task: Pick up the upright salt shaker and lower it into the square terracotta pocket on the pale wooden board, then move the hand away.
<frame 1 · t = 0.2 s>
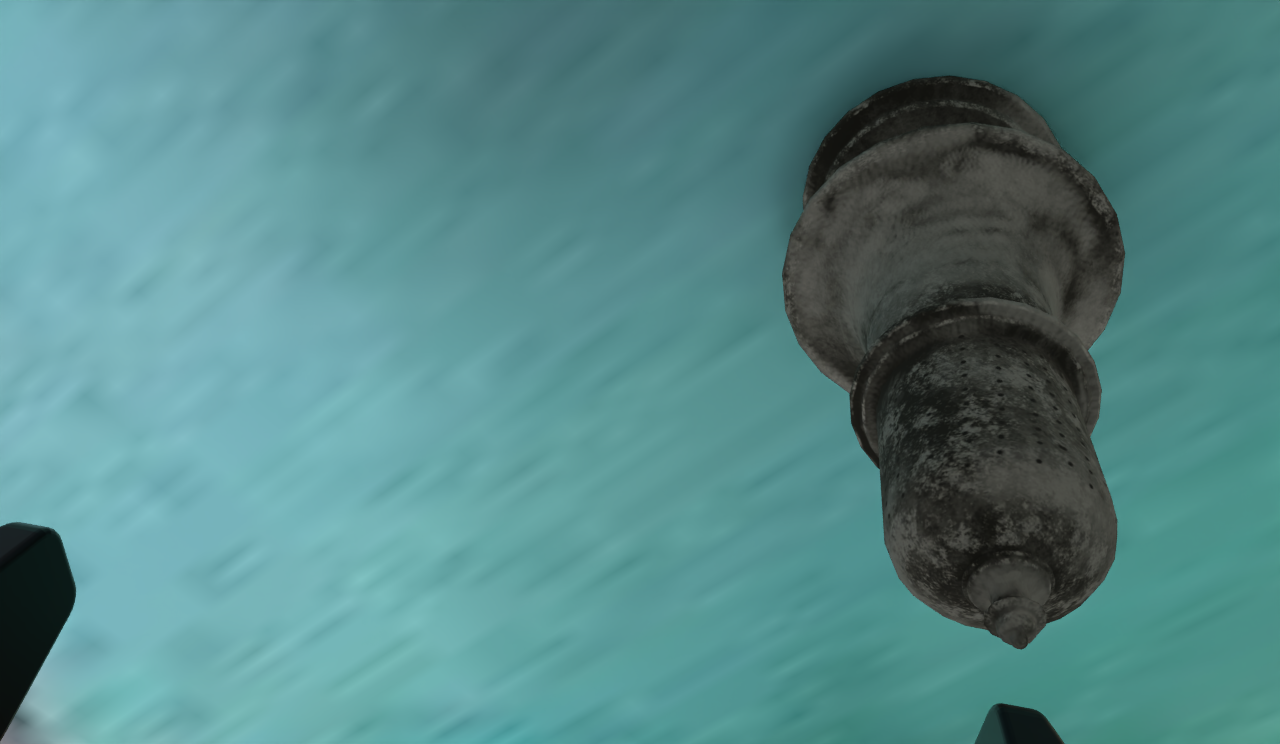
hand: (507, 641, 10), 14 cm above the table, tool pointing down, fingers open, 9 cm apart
salt shaker: (930, 198, 21), on the table
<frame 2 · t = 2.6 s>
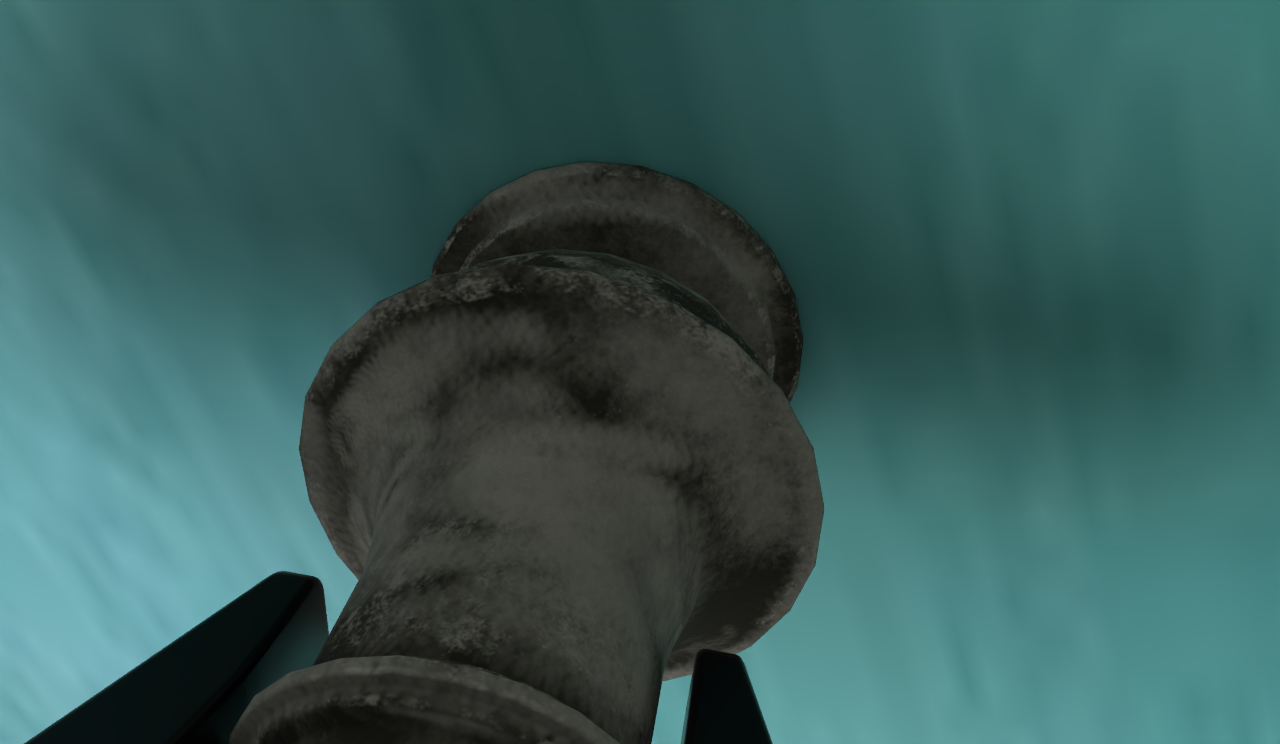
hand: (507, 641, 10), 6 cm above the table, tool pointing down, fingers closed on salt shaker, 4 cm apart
salt shaker: (613, 334, 14), on the table, touching gripper
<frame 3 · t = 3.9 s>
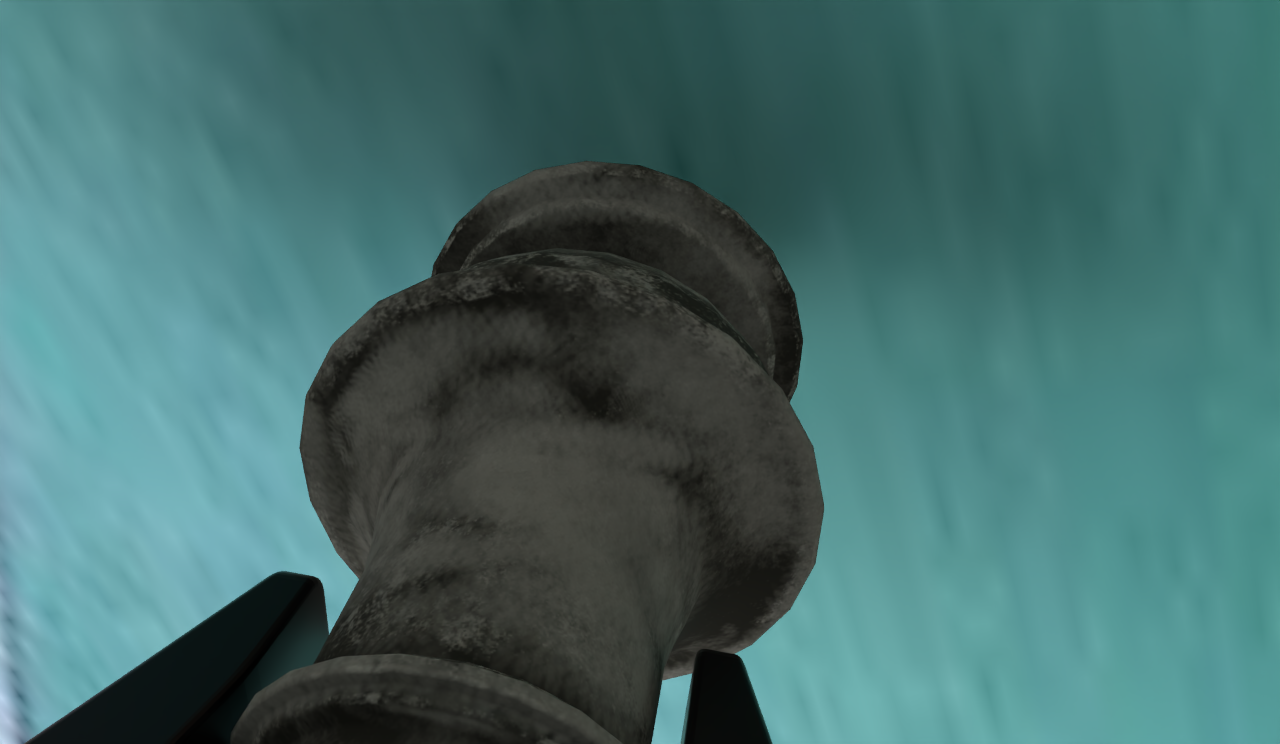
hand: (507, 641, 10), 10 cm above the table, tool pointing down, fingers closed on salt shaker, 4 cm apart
salt shaker: (613, 333, 14), point 4 cm above the table, touching gripper
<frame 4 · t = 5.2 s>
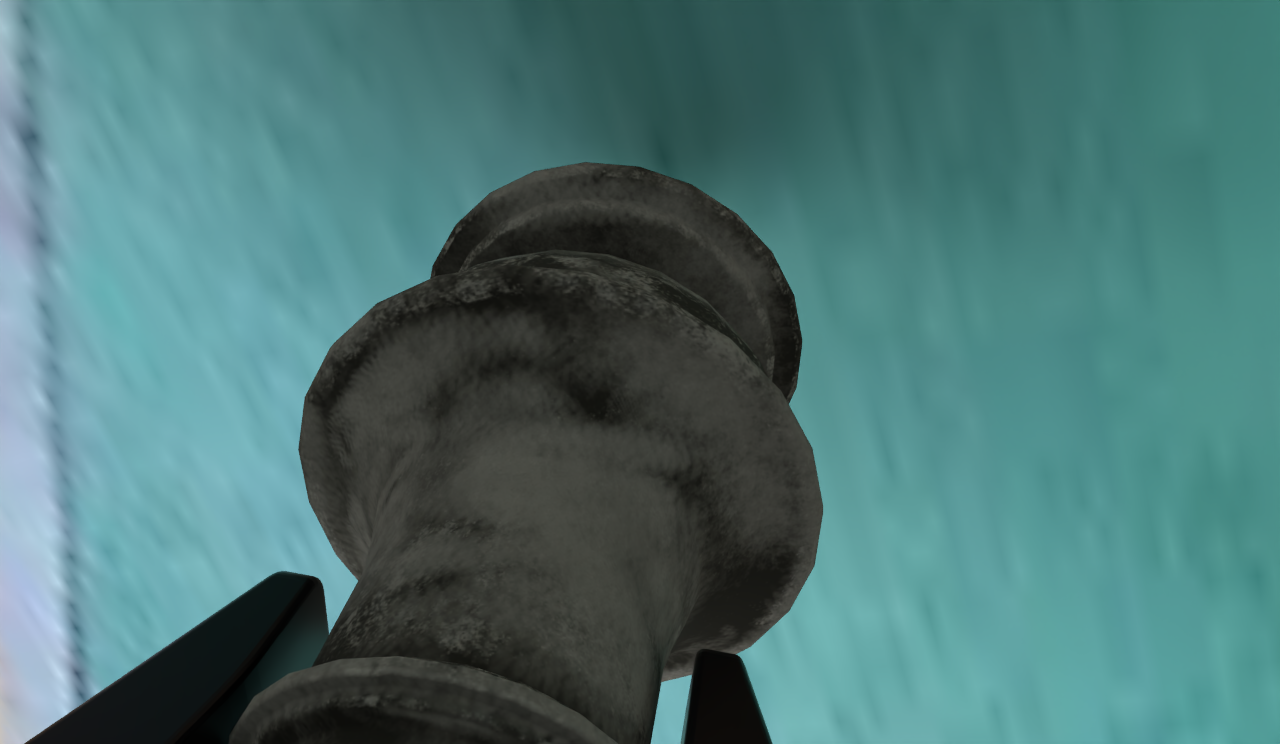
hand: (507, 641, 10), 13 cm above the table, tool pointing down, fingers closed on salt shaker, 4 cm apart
salt shaker: (613, 335, 14), point 7 cm above the table, touching gripper
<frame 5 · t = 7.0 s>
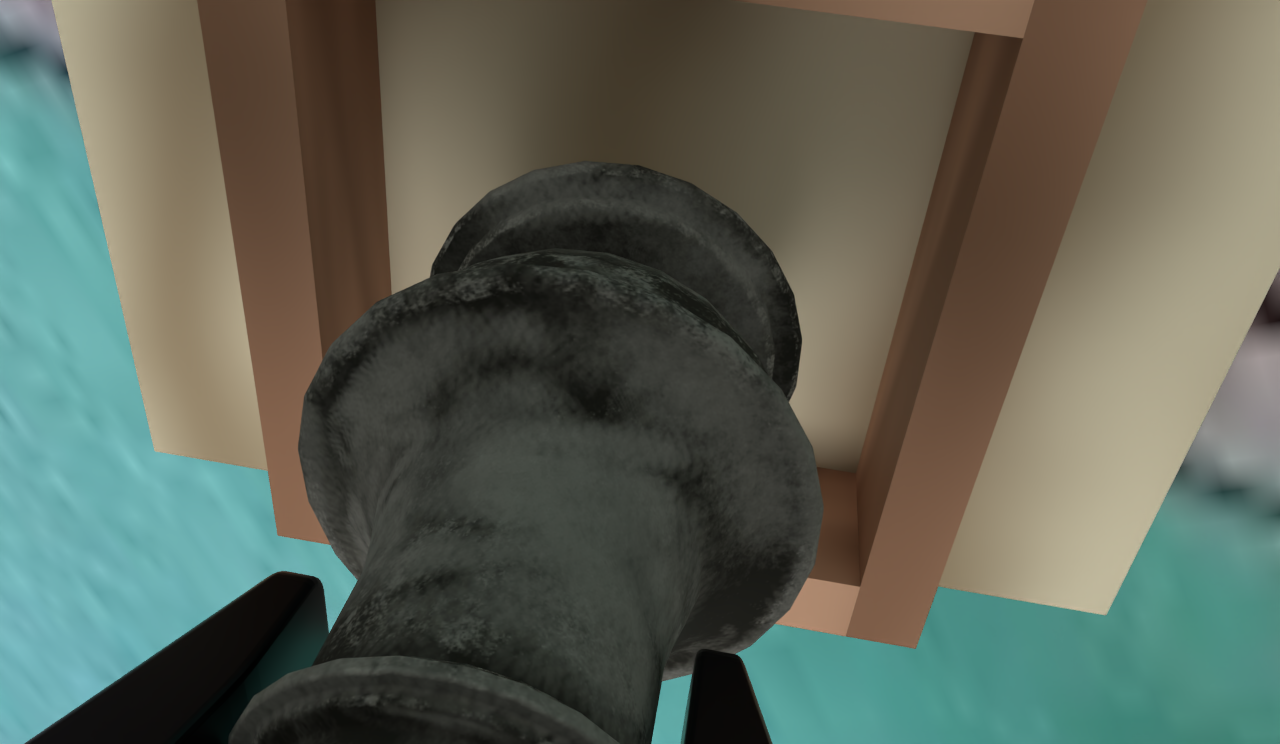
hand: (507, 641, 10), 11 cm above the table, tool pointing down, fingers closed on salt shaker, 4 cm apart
salt shaker: (612, 334, 14), point 5 cm above the table, touching gripper
shaker holder: (656, 188, 18), on the table
when the fingers open (8 cm above the table, at t = 8.2 s): salt shaker stays where it is, resting on shaker holder.
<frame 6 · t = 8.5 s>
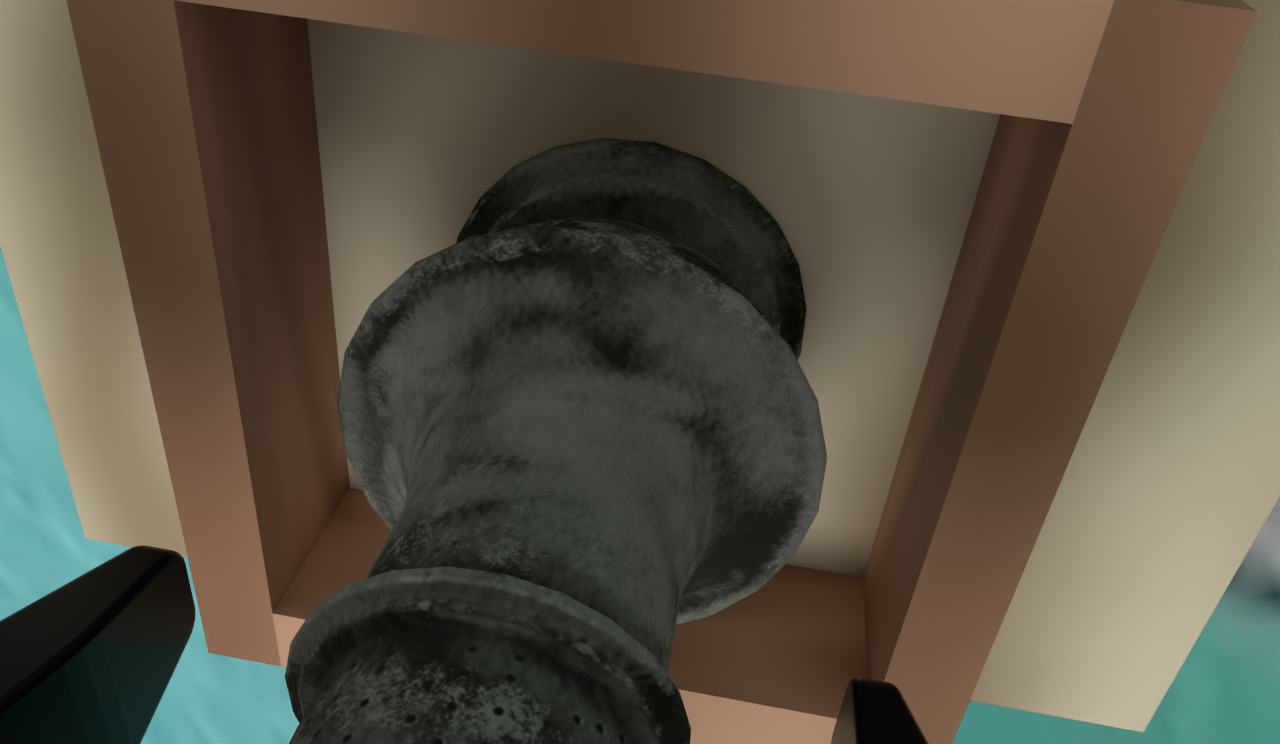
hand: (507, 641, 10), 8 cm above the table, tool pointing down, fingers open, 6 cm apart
salt shaker: (627, 303, 15), point 1 cm above the table, touching shaker holder
shaker holder: (638, 260, 16), on the table
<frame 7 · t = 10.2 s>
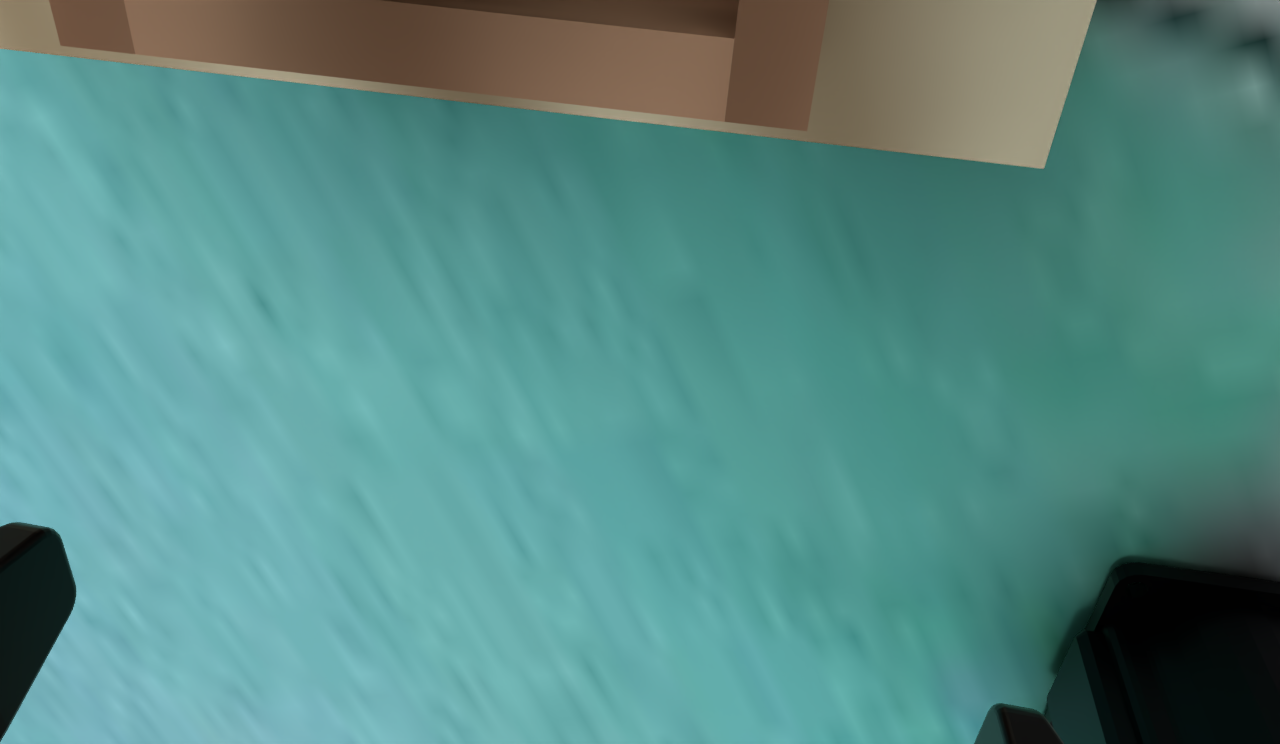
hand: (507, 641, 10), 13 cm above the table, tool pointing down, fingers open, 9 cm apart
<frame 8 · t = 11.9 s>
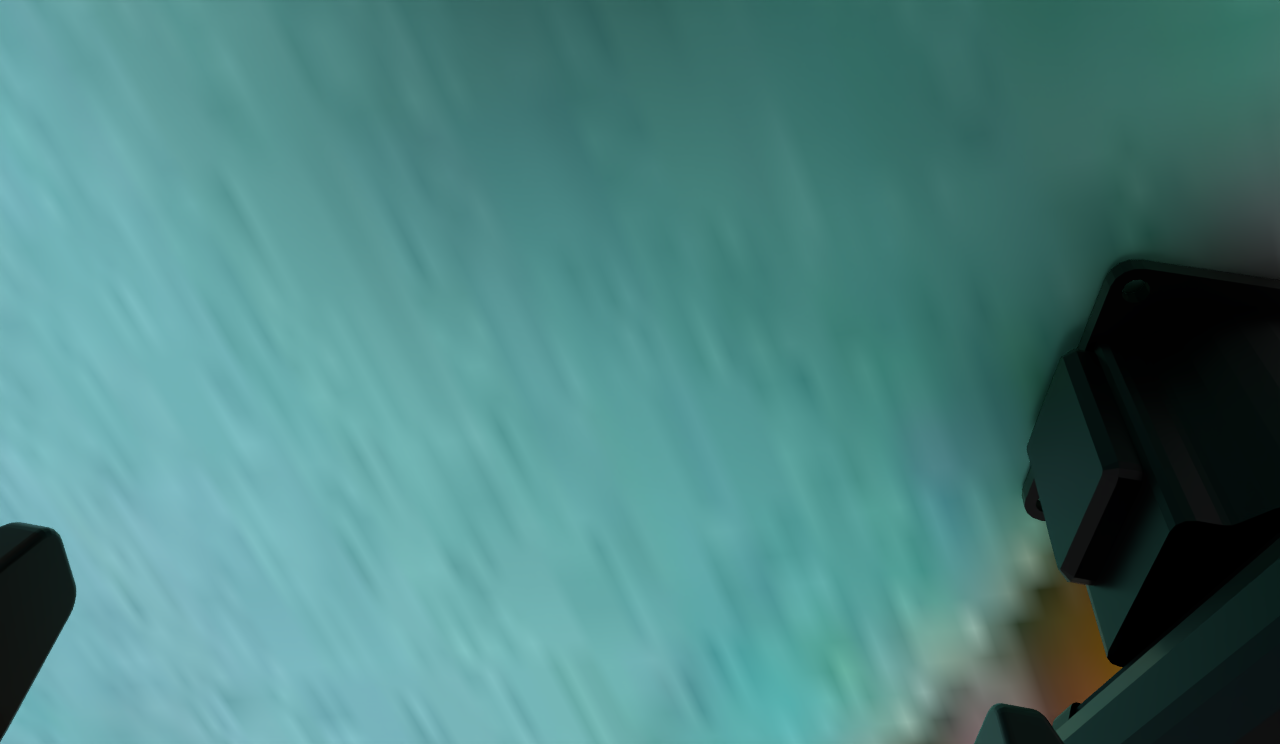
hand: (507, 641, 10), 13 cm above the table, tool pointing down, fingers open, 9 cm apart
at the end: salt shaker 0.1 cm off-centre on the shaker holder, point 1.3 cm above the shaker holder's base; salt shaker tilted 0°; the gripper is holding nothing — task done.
